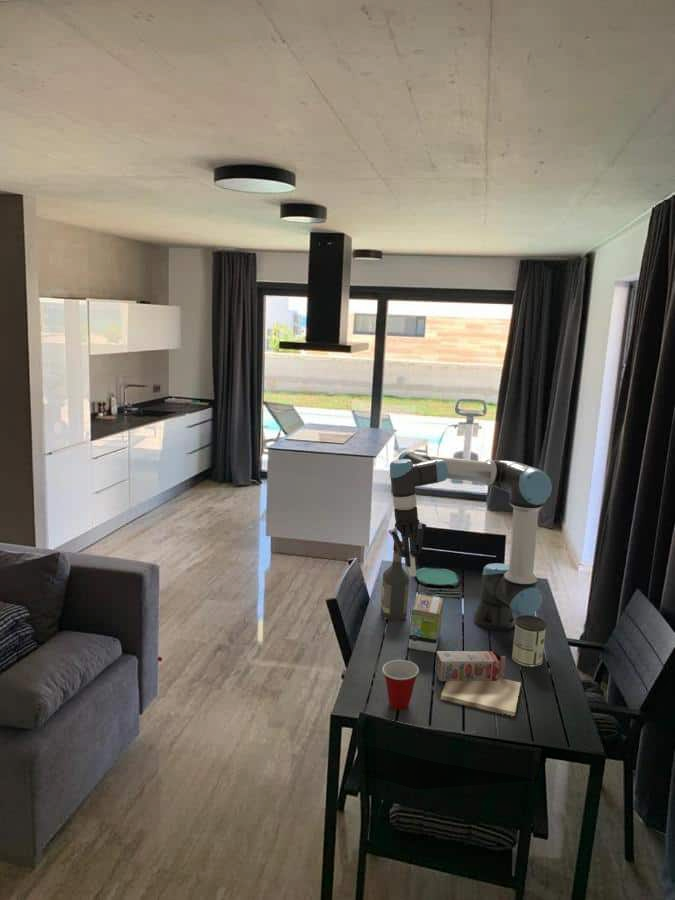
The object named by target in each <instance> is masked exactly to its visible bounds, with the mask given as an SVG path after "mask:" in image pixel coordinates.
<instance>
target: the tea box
mask: <svg viewBox="0 0 675 900" xmlns="http://www.w3.org/2000/svg"><path fill="white" fill-rule="evenodd" d="M443 604H444V597H432V596H429V595H428V596H427V594H425V595H424V594H419V593H418V594H416V596H415V600H414V603H413V606H412V610H411V621H410V629H409V637H408V649H412V650H418V651H423V652H429V653H430V652H431V653H437V647H438V643H439V639H440V638H439V637H440V634H441V626H442V615H443V607H444V605H443Z"/></svg>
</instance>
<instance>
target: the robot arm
mask: <svg viewBox="0 0 675 900" xmlns="http://www.w3.org/2000/svg"><path fill="white" fill-rule="evenodd" d="M389 478H390V484H391V492H392V493H391V494H392V501H393V503H392V504H393V507H394V509H393V510H394V512H393V513H394V520H395V524H394V528H393V529H390V530H389V531H388V533H389V534H390V536H391V537H392V539H393V544H394V543H395V545H396V548H397V551H398V554H399V555H400V556H401V557H402V559H403V558H404V563H405V564H404V565H405V566H406V567H407V569H408V572H407V573H408V576H411V577H415V576H417V575H416V570H417V569H416V568H417V567H416V566H417V565H418V557H419V554H421V553H422V552H423V543H424V536H425V530H426V528H427V524H426V523H423V522H421V521H420V519H419V515H418V508H417V507H418V506H417V505H418V504H417V497H416V495H417V494H416V488H417V487H423V486H427V485H432V484H438V483H442V482H445V481H446V480H447V479H448V480H455V481H457V480H458V481H465V482H466V481H467V482H476V483H483V485H485V486H487V487H493V488H497V489H500V490H501V491H504V492H506V493H508V494H509V505H510V507H512V523H511V536H510V537H511V538H510V549H509V550H510V551H509V562H508V564H507V563H499V562H498V563H495V562H494V563H488V564H486V565H485V566H484V567H483V571H482V577H481V588H480V589H481V590H480V599H479V603H478V604H477V606H476V609H475V611H474V613H473V621H474V622H475V624H476V625H478V626H479V627H482V628H483V629H487V630H491V631H498V632H499V631H500V632H501V631H508V630H511V629H512V628H513V627H515V617H514V616H515V615H517V616H523V615H528V616H532V615H533V614H534V613H536V611H537V610H539V609H540V608H541V605H542V602H543V595H542V592H541V591H540V590H541V589H538V588H537V587H538V585H537V584H538V577H537V576H536V575H535V573H534V569H535V558H536V557H535V556H536V546H537V545H536V544H537V531H538V519H539V511H540V510H541V509H542V508H543V507H544V503H546V502H547V501H548V498H550V496H551V494H552V489H553V485H552V480H551V478H550V476H548V474H547V473H546V472H544V471H543V470H541V469H539V468H537V467H533V466H529V465H528V464H525V463H522V462H518V461H514V460H497V459H487V460H485V461H482V460H473V459H465V458H455V457H446V456H440V455H439V456H437V455H429V454H421V453H416V452H414V451H410V450H409V451H407V450H406V451H404V452H401V454H400V455H399V456H398V458H397V459H395V460H392V461H391V462H390V463H389ZM399 533H400V536H401V539H400V537H399ZM400 541H402V544H403V547H402V545H401V542H400ZM514 614H515V615H514Z"/></svg>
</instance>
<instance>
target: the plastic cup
mask: <svg viewBox="0 0 675 900" xmlns="http://www.w3.org/2000/svg"><path fill="white" fill-rule="evenodd" d="M419 670H420V669H419V667H418V665H417V664H416V663H414V662H412V661H410V660H404V659H395V660H391V661H390V660H389V661H388V662H386V663H385V664H384V665H383V666H382V672H383V675H384V678H385V683H386V689H387V690H386V692H387V695H388V696H387V697H388V704H389V706H390V708H392V709H394V710H397V711H403V710H404V711H405V710H406V709H408V708H409V705H410V702H411V698H412V695H413V691H414V687H415V684H416V683H415V682H416V679H417V676H418V674H419V673H420V671H419Z"/></svg>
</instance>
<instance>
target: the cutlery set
mask: <svg viewBox="0 0 675 900" xmlns="http://www.w3.org/2000/svg"><path fill="white" fill-rule="evenodd" d="M416 575H417V576H414V577H415V579H416V580H417V581H418V583H420V584H423V585H429V586H434V587H435V586H436V587H448V586H453V587H454V588H455V587H457V586H459V582H460V577H459V575H458V574H457V573H456V572H454V571H452V570H450V569H446V568H439V567H438V568H437V567H422V568H418V569H416ZM426 589H427V590H426ZM440 590H442V591H441V592H440ZM428 591H435V592H434V593H435V594H433V592H432V593H431V592H428ZM427 592H428V595H432V596H433V597H439V596H440V597H439V598H451V597H453V598H454V599H455V598H457V599H461V598H462V595H460V594H461V592H460V590H459V589H449V588H428V587H427V588H425V593H427ZM436 592H438V593H440V594H438V593H436ZM444 594H453V595H444ZM453 598H452V599H453Z"/></svg>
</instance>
